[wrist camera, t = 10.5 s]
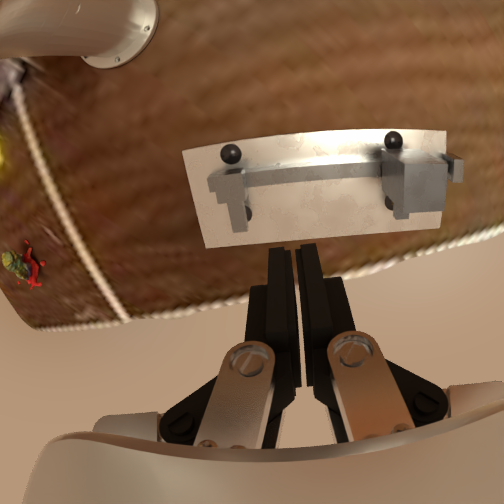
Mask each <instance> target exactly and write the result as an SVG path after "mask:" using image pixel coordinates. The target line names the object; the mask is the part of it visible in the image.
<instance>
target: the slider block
mask: <svg viewBox="0 0 504 504" xmlns="http://www.w3.org/2000/svg"><path fill="white" fill-rule="evenodd" d="M381 152H382V190H383V192H384V193H385V194H386V195H387V196H388V197H389V198H390V199H391V200H392V202H391V203H392V205H393V217H394V218H395V219H396V220H401V219H409V213H420V212H437V211H444V207H445V198H446V187H447V172H448V164H447V163H445V162H443V161H441V160H440V159H438V158H436V157H434V156H432V155H430V154H428V153H426V152H424V151H423V150H421V149H381Z"/></svg>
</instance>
